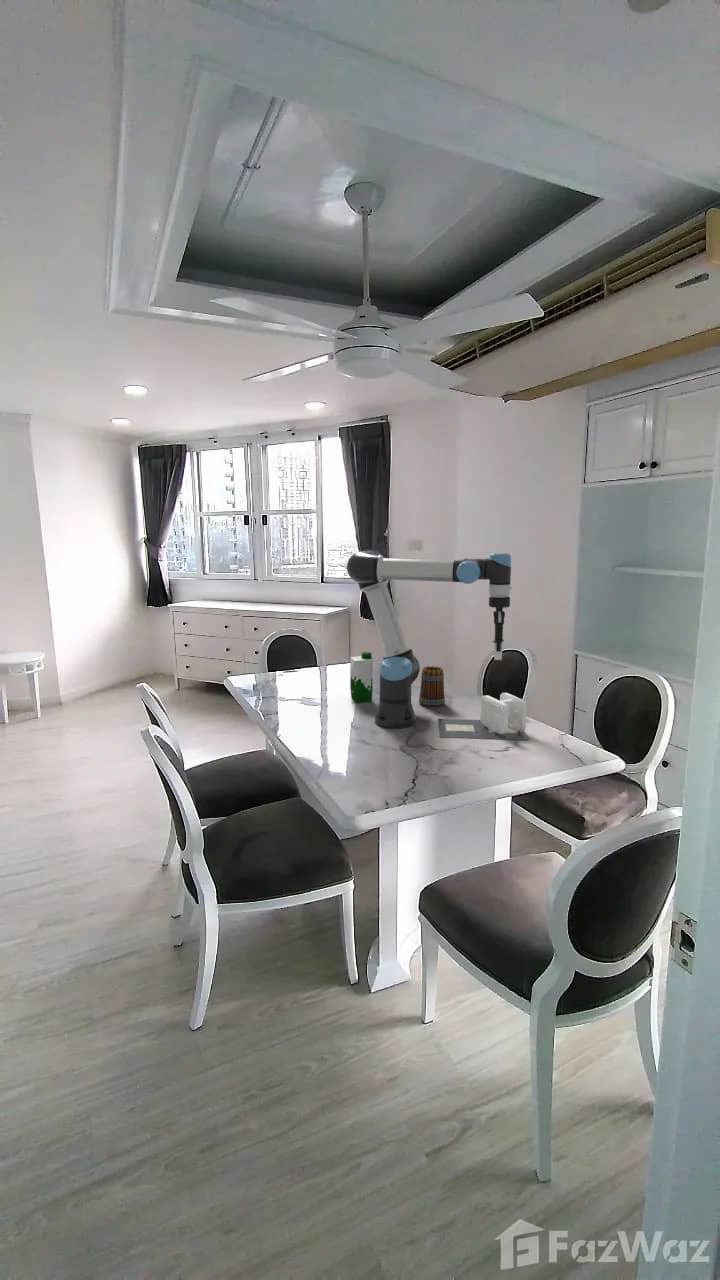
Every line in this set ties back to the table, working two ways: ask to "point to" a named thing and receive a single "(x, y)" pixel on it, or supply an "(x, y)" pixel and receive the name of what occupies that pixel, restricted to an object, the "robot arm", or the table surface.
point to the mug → (432, 687)
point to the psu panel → (475, 730)
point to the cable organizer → (503, 713)
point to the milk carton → (361, 678)
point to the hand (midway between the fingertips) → (498, 659)
